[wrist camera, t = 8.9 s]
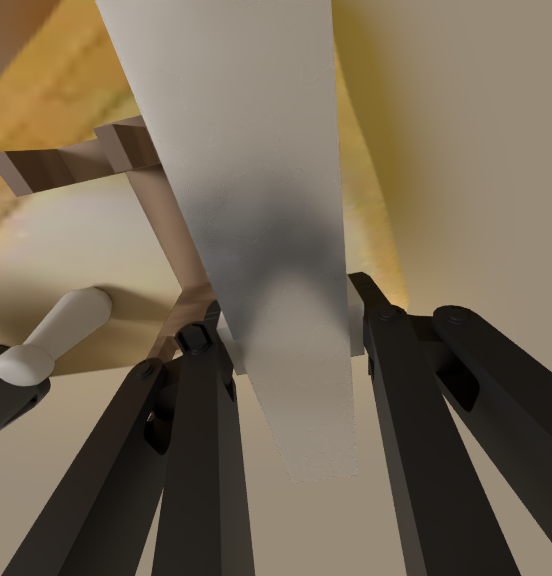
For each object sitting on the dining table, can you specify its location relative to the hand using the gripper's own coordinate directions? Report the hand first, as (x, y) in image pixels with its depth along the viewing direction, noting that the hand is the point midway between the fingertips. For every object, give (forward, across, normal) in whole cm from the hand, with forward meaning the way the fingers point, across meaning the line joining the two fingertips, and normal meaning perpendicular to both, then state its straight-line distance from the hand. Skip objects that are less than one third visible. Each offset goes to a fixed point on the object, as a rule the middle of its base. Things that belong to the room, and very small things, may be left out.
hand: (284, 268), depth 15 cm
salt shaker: (+16, +27, +7) cm, 32 cm away
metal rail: (-4, 0, 0) cm, 4 cm away
